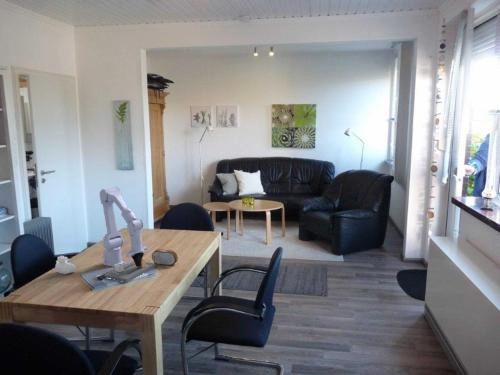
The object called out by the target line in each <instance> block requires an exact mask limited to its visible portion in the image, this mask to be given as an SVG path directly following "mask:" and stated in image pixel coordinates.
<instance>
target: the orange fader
mask: <svg viewBox="0 0 500 375" xmlns="http://www.w3.org/2000/svg"><path fill="white" fill-rule="evenodd" d="M145 266H146V259H145V258H144V259H143V258H142V261H141V266H140V267H141V268H143V267H145Z"/></svg>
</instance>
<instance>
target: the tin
mask: <svg viewBox="0 0 500 375" xmlns="http://www.w3.org/2000/svg"><path fill="white" fill-rule="evenodd" d="M151 259H152V261H153V263H154V264H156V265H162V266H163V265H164V266H173V265H175V264H176V263H177V262H178V259H179V258H178V254H177V253H176V252H175V251H174V250H171V249H161V248H160V249H158V248H157V249H155V250H154V251H153V252H152V253H151Z"/></svg>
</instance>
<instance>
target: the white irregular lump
mask: <svg viewBox="0 0 500 375" xmlns="http://www.w3.org/2000/svg"><path fill="white" fill-rule="evenodd" d="M57 261H58V262H57V263H55V269H56V270H57V272H58V273H59V274H61V275H67V274H71V273H75V272H76V271H77V267H76V265H75V264H74V263H72V262H68V257H67V256H64V255H60V256H57Z"/></svg>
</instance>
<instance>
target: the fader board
mask: <svg viewBox="0 0 500 375" xmlns="http://www.w3.org/2000/svg"><path fill="white" fill-rule="evenodd" d="M156 265H157V264H156V263H155V262H148V261H147V262H146V266H145V267H143V268H141V267H137V266H136V265H135V262H134V260H132V261H130V262H128V263H126V264H123V271H121V272H116V271H115V269H114V270H111V271H110V272H107V273H105V274H104V275H103V277H104V276H105V277H108V278H111V279H115V280H119V281H118V282H120V281H123V282H122V283H125V282H126V284H127V283H129V281H130V282H131V281H133V280H135V279H137V278H139V277H140V275H141V276H142V275H144V274H146V273H148V272H150V271H152V270H154V269H155V268H156V267H157V266H156ZM143 273H144V274H143ZM138 276H139V277H138ZM136 277H137V278H136ZM134 278H135V279H134ZM115 280H114V281H115Z"/></svg>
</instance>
